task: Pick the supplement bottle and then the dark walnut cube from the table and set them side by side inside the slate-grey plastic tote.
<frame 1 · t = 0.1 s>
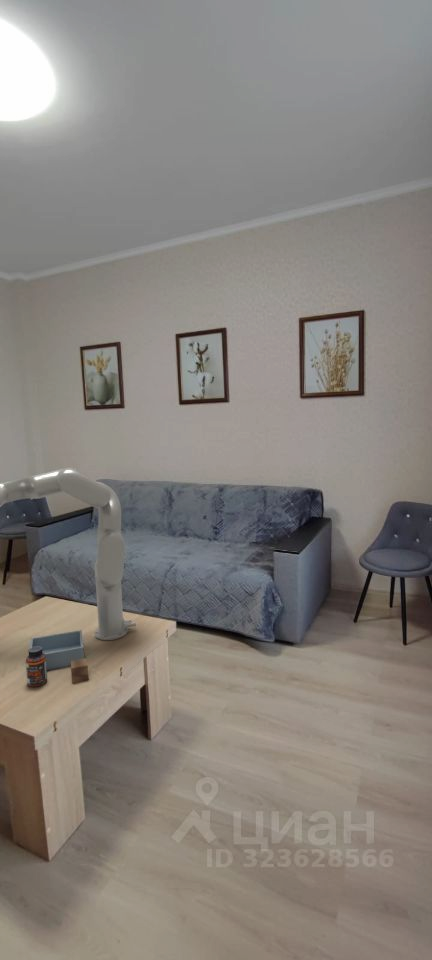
supplement bottle: (37, 683, 146), on the table
tote: (57, 658, 161), on the table
walnut cube: (80, 677, 148), on the table
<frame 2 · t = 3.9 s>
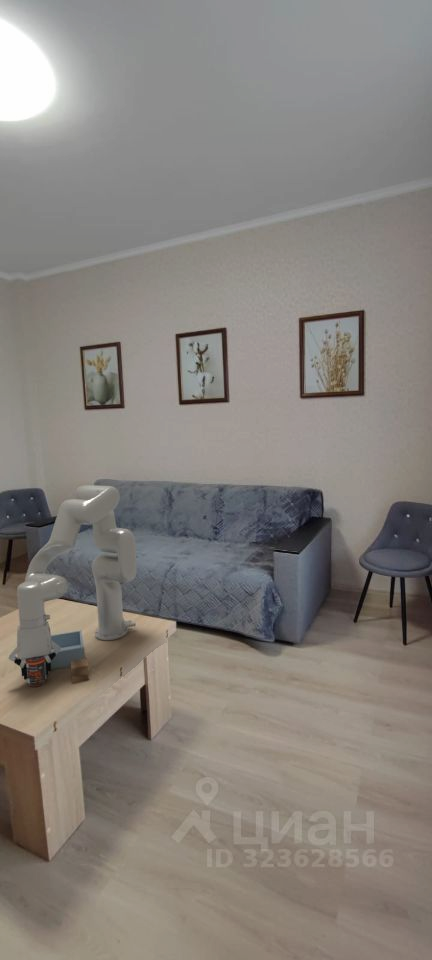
hand: (36, 674, 145), 3 cm above the table, fingers closed on supplement bottle, 6 cm apart
supplement bottle: (37, 683, 146), on the table, touching gripper
everything else where it was.
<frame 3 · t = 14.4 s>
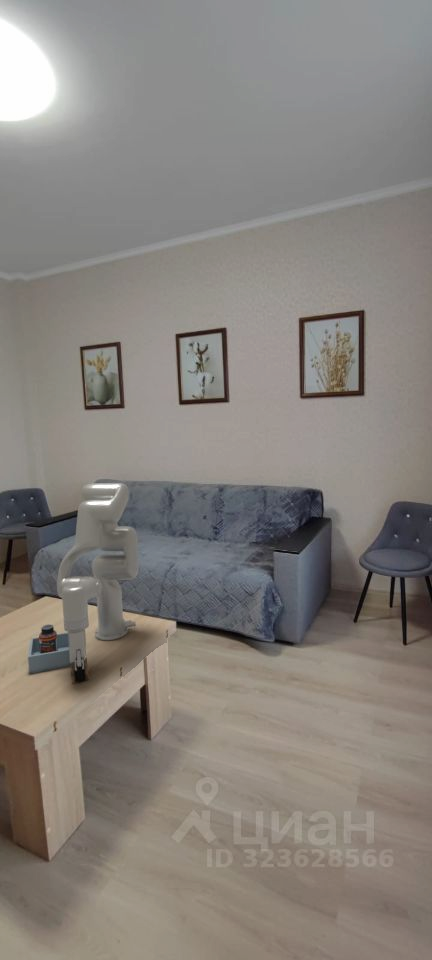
hand: (80, 676, 148), 0 cm above the table, fingers closed on walnut cube, 5 cm apart
supplement bottle: (49, 658, 160), point 1 cm above the table, touching tote
walnut cube: (80, 677, 148), on the table, touching gripper
when the fingers open (3 cm above the table, at t = 19.7 s): walnut cube drops 2 cm, resting on tote.
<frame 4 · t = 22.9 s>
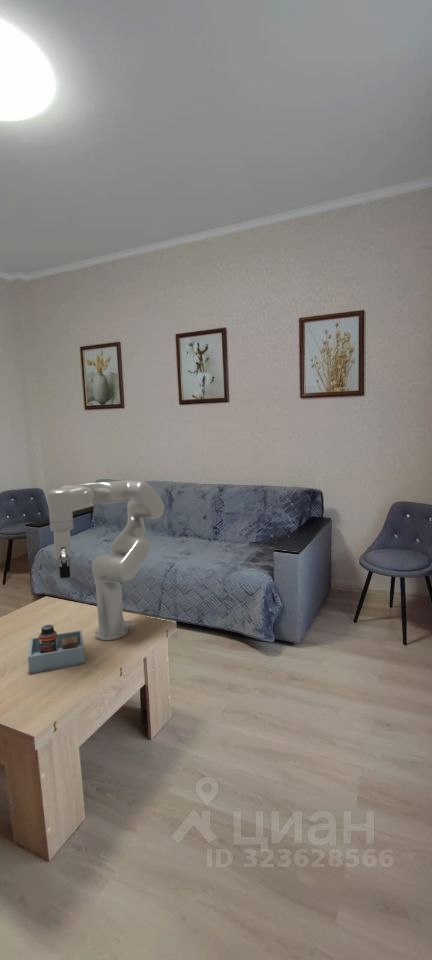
hand: (65, 573, 159), 30 cm above the table, fingers open, 9 cm apart
walnut cube: (70, 653, 162), point 1 cm above the table, touching tote
everything else where it was.
at the end: supplement bottle inside the target area on the tote (2.6 cm from its centre), point 0.6 cm above the tote's base; walnut cube inside the target area on the tote (4.5 cm from its centre), point 0.8 cm above the tote's base; supplement bottle tilted 0° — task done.
